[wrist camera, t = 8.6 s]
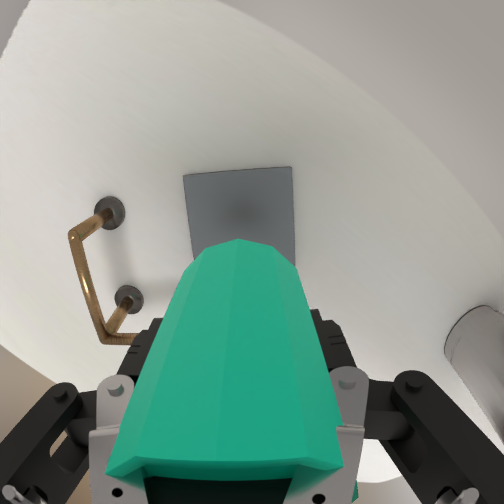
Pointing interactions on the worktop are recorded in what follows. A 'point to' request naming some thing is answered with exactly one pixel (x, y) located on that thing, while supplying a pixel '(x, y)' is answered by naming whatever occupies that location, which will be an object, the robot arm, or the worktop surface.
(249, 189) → the coaster
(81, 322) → the worktop surface
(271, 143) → the worktop surface
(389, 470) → the worktop surface
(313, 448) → the candle
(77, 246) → the handrail
